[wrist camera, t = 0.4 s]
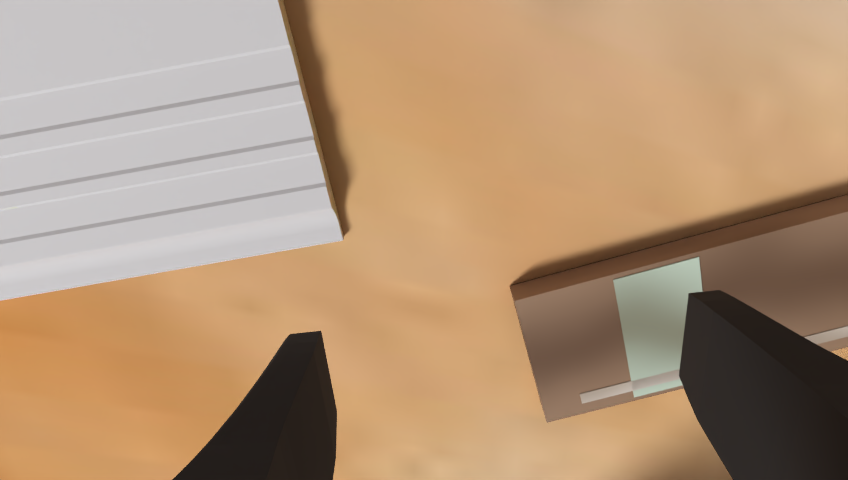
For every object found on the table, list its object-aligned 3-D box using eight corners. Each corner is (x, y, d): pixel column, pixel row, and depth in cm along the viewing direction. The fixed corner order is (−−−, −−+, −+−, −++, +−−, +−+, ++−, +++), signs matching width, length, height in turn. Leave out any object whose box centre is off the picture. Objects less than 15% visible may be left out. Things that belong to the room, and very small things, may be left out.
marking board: (1052, 275, 25) (1077, 290, 24) (541, 405, 27) (547, 423, 26) (1081, 131, 23) (1110, 141, 22) (509, 286, 24) (514, 301, 23)
